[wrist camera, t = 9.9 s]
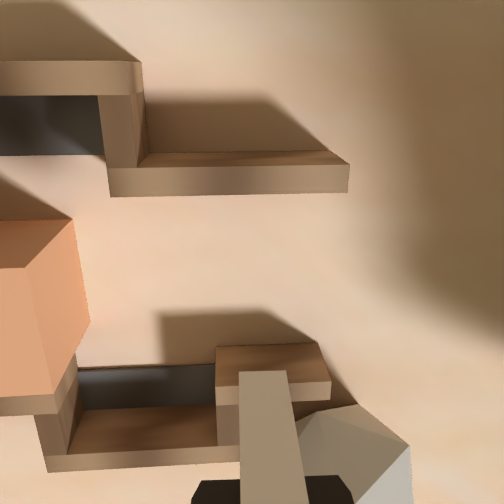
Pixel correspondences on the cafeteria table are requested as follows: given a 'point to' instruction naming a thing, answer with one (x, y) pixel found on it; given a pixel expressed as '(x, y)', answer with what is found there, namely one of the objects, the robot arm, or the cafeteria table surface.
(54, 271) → the block
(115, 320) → the cafeteria table surface
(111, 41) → the cafeteria table surface
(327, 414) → the die
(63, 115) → the trap lane
